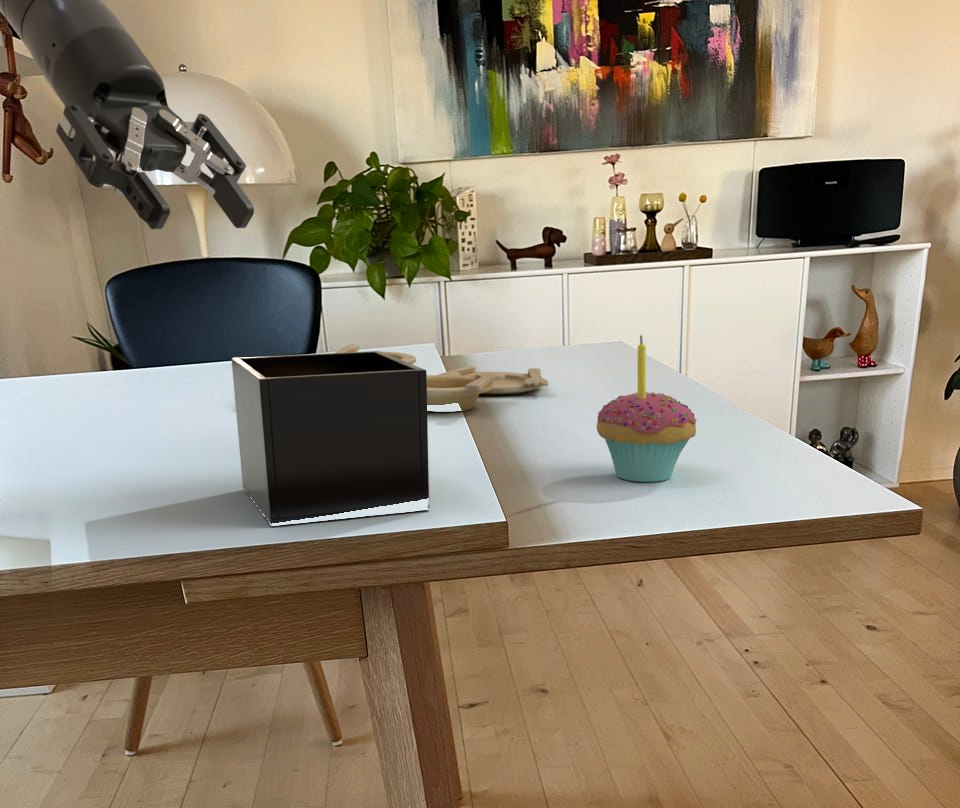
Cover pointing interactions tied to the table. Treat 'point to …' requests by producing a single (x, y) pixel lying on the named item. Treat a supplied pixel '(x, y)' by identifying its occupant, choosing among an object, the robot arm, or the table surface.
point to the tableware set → (470, 382)
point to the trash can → (331, 432)
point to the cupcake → (645, 430)
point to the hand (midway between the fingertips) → (206, 220)
